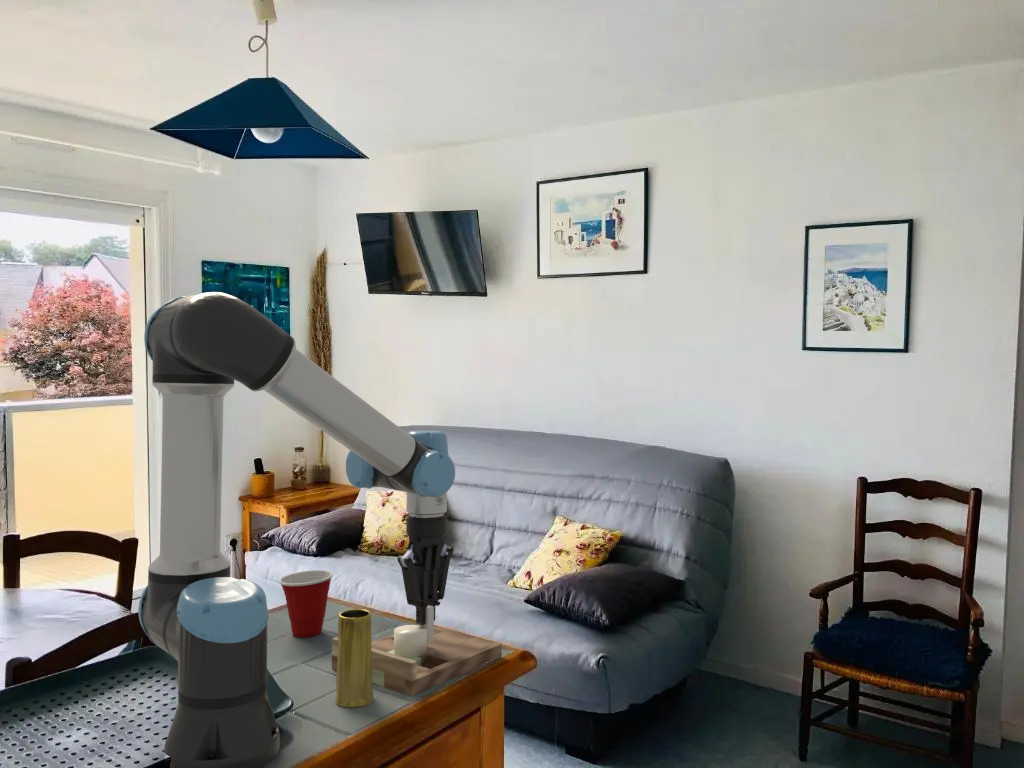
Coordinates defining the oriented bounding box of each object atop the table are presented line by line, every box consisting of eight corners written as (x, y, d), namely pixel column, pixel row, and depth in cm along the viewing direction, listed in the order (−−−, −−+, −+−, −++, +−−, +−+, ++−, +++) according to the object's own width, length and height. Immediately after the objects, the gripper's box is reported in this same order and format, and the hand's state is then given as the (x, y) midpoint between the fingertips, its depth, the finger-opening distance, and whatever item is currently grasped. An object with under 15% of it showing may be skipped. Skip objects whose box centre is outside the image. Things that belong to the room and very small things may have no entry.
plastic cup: (283, 625, 171) (283, 569, 171) (335, 624, 172) (335, 568, 172) (273, 642, 160) (274, 582, 160) (329, 641, 162) (329, 581, 162)
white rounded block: (408, 659, 144) (408, 637, 144) (387, 651, 148) (387, 630, 148) (433, 651, 149) (434, 629, 149) (412, 644, 153) (412, 622, 153)
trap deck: (411, 696, 134) (411, 663, 134) (331, 669, 146) (331, 638, 146) (501, 657, 153) (501, 627, 153) (424, 635, 165) (424, 608, 165)
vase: (370, 691, 136) (370, 606, 136) (376, 705, 130) (376, 617, 130) (333, 696, 134) (333, 609, 134) (337, 710, 128) (338, 620, 128)
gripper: (416, 521, 144) (415, 654, 144) (465, 511, 154) (463, 636, 154) (387, 516, 148) (385, 645, 148) (435, 507, 159) (434, 628, 159)
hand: (425, 640), depth 151 cm, fingers closed
